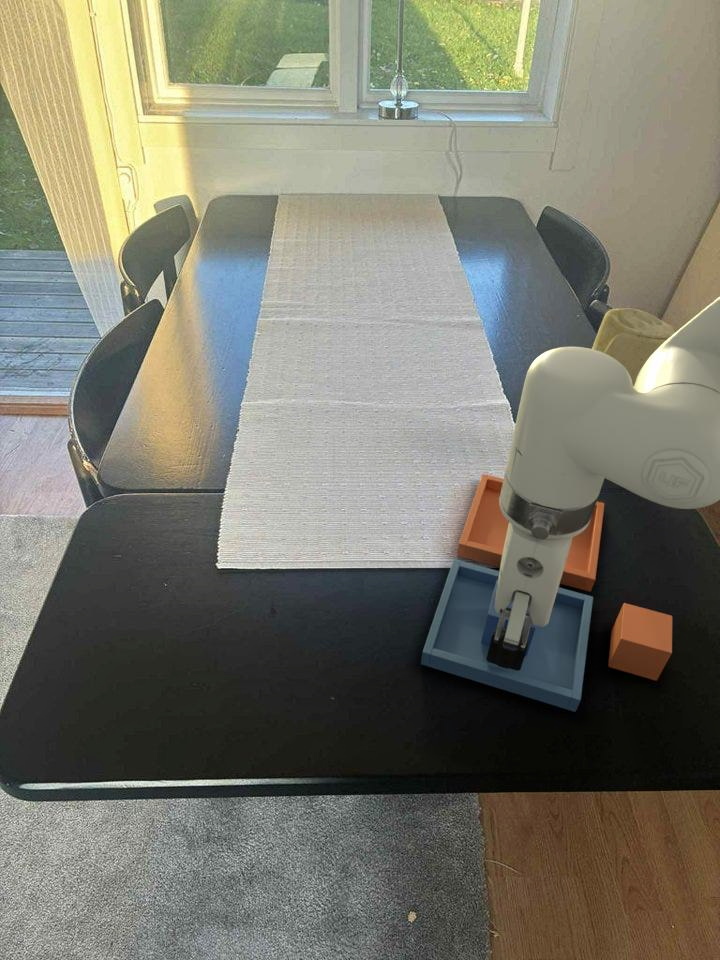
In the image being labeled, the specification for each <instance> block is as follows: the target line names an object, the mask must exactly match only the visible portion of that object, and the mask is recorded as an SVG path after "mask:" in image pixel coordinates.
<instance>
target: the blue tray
mask: <svg viewBox="0 0 720 960" xmlns="http://www.w3.org/2000/svg"><path fill="white" fill-rule="evenodd" d="M499 571H500V570H496V569H492V568H488V567H486V566H481V565H477V564H475V563H470V562H466V561H464V560H460V559H455V558H454V559H453V560H452V563H451V566H450V568H449V572H448V575H447V578H446V581H445V584H444V587H443V590H442V593H441V596H440V599H439V603H438V605H437V608H436V611H435V613H434V617H433V620H432V623H431V625H430V628H429V632H428V634H427V637H426V640H425V644H424V647H423V650H422V653H421V660H420V665H423V666H426V667H428V668H432V669H435V670H439V671H443V672H445V673H448V674H451V675H455V676H458V677H461V678H464V679H467V680H470V681H473V682H476V683H481V684H483V685H487V686H489V687H493V688H496V689H499V690H503V691H505V692H506V691H507V692H509V693H512V694H516V695H519V696H521V697H525V698H528V699H530V700H531V699H532V700H534V701H538V702H542V703H544V704H548V705H551V706H554V707H558V708H561V709H564V710H567V711H571V712H574V713H576V711H577V710H578V708H579V705H580V703H581V699H582V692H583V683H584V675H585V666H586V660H587V651H588V643H589V636H590V635H589V634H590V626H591V618H592V611H593V610H592V609H593V602H594V596H591V595H587V594H584V593H580V592H576V591H573V590H569V589H565V588H562V587H559V588H558V591H557V594H556V598H555V601H554V605H553V608H552V612H551V615H550V619H549V623H548V624H547V625H546V626H544V627H540V626H536V629H535V632H534V635H533V639H532V642H531V645H530V648H529V651H528V654H527V656H525V657H524V660H523V663H522V667H521V670H519V671H516V670H513V669H506V668H503V667H500V666H498V665H496V664H493V663H490V662H488V661H487V660H486V658H487V654H488V650H489V645H486V644H483V643H481V640H482V636H483V632H484V628H485V623H486V619H487V615H488V611H489V607H490V604H491V600H492V596H493V592H494V589H495V585H496V581H497V580H498V578H499Z"/></svg>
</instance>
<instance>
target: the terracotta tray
mask: <svg viewBox="0 0 720 960" xmlns="http://www.w3.org/2000/svg"><path fill="white" fill-rule="evenodd" d="M503 480H504V478H503V477H498V476H494V475H490V474H486V473H482V474H481V477H480V479H479V481H478V485H477V488H476V491H475V494H474V498H473V500H472V504H471V506H470V508H469V511H468V514H467V518H466V520H465V524H464V527H463V530H462V533H461V536H460V538H459V542H458V546H457V550H456V551H457V553H456V556H457V557H459V558H464V559H467V560H470V561H474V562H477V563H482V564H485V565H489V566H492V567H497V568H500V565H501V559H502V554H503V548H504V544H505V539H506V534H507V529H508V525H509V521H508V520H507V519H506V518H505V517H504V515H503V513H502V511H501V509H500V505H499V498H500V494H501V489H502V484H503ZM604 511H605V503H604V502H601V501H598V500H597V502H596V505H595V508H594V511H593V514H592V517H591V520H590V523H589V525H588V527H587V528H586V529H585V530H584V531H583V532H581V533H580V534H578V535H576V536H574V537H572V542H571V546H570V550H569V553H568V557H567V561H566V564H565V568H564V571H563V574H562V578H561V581H560V584H559V585H564V586H567V587H570V588H575V589H579V590H582V591H586V592H589V593H590V592H592V589H593V587H594V584H595V582H596V577H597V568H598V563H599V561H598V560H599V553H600V544H601V535H602V529H603V522H604V521H603V518H604Z"/></svg>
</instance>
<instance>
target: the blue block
mask: <svg viewBox="0 0 720 960" xmlns="http://www.w3.org/2000/svg"><path fill="white" fill-rule="evenodd" d="M497 584H498V580H497V581H496V585H495V589H494V592H493V596H492V600H491V604H490V607H489V611H488V615H487V619H486V623H485V628H484V632H483V636H482V640H481V643H483V644H486V645H489V646H490V642H491V638H492V634H493V631H496V630H497V626H498V622H499V618H500V614H501V613H500V614H498V613H497V612H496V610H495V608H494V607H495V599H496V592H497ZM512 605H513V601H512V602H511V604H510V605H509V606H508V607H507V608H511V609H512ZM528 609H529V607H527V611H526V613H529V610H528ZM508 621H509V617H507V616H506V619H505V623H504V627H503V630H506V629H507V625H508ZM524 624H525V621H524ZM524 624H523V628H524ZM523 628H522V632H523ZM535 629H536V625H533V623H531V627H530V631H529V635H528V639H527V641H529V643H528V647H527V651H526V654H525V656H527V654H528V651H529V648H530V645H531V642H532V639H533V635H534V632H535ZM502 632H503V631H502ZM522 632H521V636H522Z"/></svg>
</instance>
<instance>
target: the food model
mask: <svg viewBox="0 0 720 960" xmlns="http://www.w3.org/2000/svg"><path fill="white" fill-rule="evenodd" d="M677 331H678V330H676V329H675V328H674V327H673V326H672V325H670V324H668V323H667V322H664V321H662V320H661V319H659V318H658V317H657V316H655V315H653V314H651V313H649V312H646V311H645V310H644V311H643V310H640V309H637V308H610V309H609V310H608V311H606V313H605V314H604V316H603V318H602V320H601V323H600V326H599V329H598V331H597V333H596V337H595V339H594V342H593V345H592V347H591V349H593V350H596V351H600V352H602V353H605V354H607V355H609V356H611V357H613V358H614V359H616V360H617V361H618V362H619V363H621V364H622V365H623V366H624V367H625V368H626V370H627V371H628V373H629V375H630V377H631V379H632V384H633V387H634V385H635V382H636V379H637V376H638V374H639V372H640V370H641V369H642V367H643V366H644V364H645V363H646V361H647V360H648V359H649V357H650V356H651V355H652V354H653V353H654V352H655V351H656V350H657V349H658V348H659V347H660V346H661V345H662V344H663V343H664V342H665V341H666V340H668V339H669V338H670V337H671V336H672V335H673V334H675V333H676V332H677Z"/></svg>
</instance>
